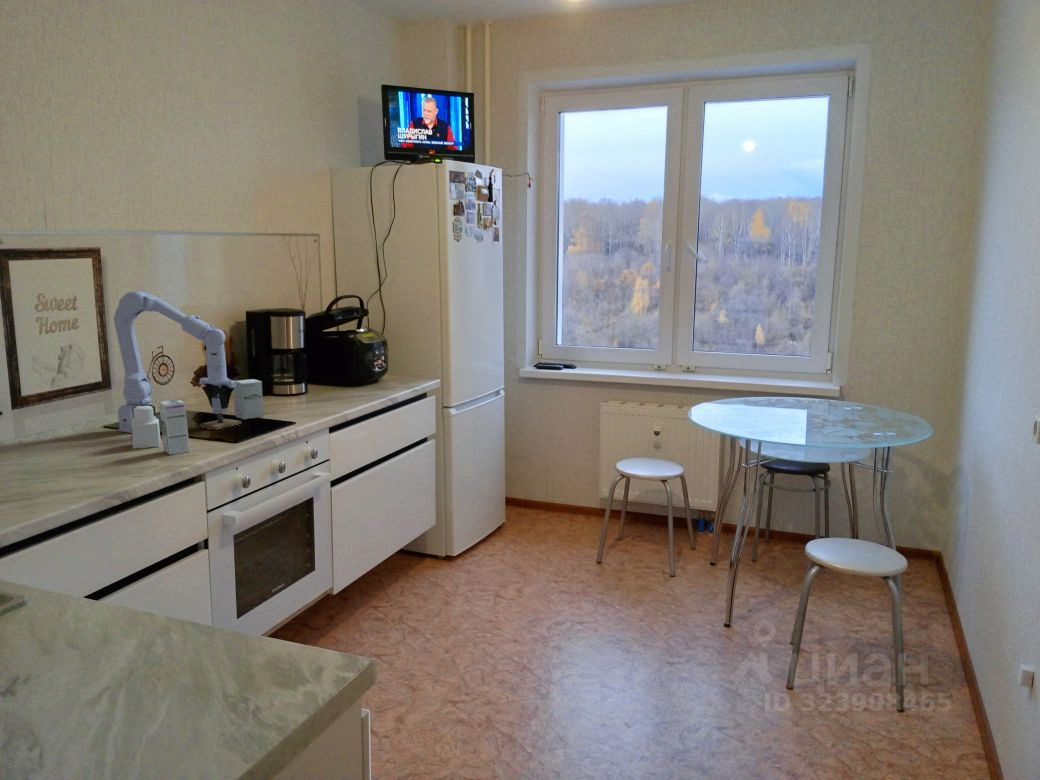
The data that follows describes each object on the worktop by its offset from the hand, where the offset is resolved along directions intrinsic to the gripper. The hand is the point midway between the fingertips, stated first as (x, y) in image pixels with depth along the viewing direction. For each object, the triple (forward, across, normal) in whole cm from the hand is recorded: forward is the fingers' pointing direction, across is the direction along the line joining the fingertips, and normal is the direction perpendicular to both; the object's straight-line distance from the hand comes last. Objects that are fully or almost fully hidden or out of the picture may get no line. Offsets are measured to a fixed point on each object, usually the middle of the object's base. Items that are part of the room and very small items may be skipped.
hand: (219, 407), depth 252 cm
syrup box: (+6, -15, +29) cm, 33 cm away
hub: (+2, 0, 0) cm, 2 cm away
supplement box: (+6, +3, -15) cm, 17 cm away
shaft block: (+6, 0, 0) cm, 6 cm away
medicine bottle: (+6, -1, +28) cm, 29 cm away
